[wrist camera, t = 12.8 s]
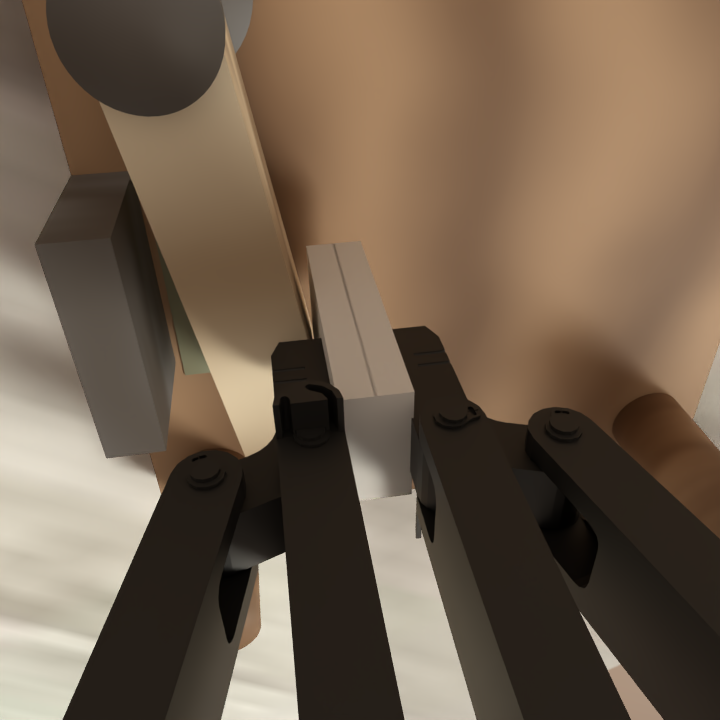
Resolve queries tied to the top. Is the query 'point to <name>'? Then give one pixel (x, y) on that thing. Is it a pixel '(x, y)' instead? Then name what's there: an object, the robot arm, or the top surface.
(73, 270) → the wooden peg board
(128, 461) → the top surface
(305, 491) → the robot arm
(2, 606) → the top surface
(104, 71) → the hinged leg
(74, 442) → the top surface
